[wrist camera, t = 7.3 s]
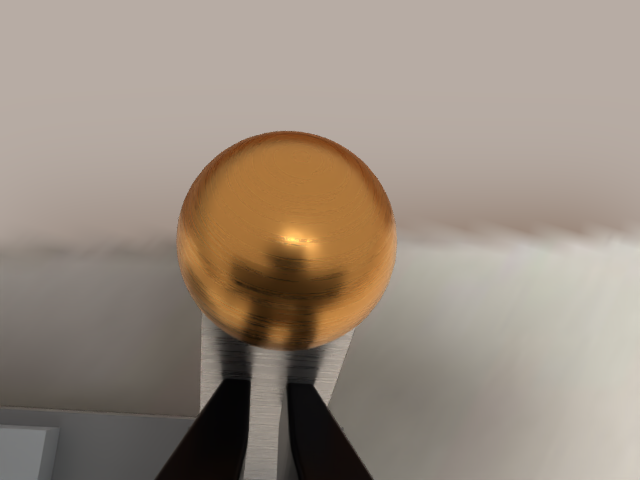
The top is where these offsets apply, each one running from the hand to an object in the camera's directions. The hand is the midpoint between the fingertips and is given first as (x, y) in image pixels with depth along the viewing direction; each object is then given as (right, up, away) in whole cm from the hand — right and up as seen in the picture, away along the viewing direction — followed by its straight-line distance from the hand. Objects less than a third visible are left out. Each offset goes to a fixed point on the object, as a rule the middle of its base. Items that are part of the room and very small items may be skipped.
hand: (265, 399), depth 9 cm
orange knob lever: (-1, -4, +6) cm, 7 cm away
